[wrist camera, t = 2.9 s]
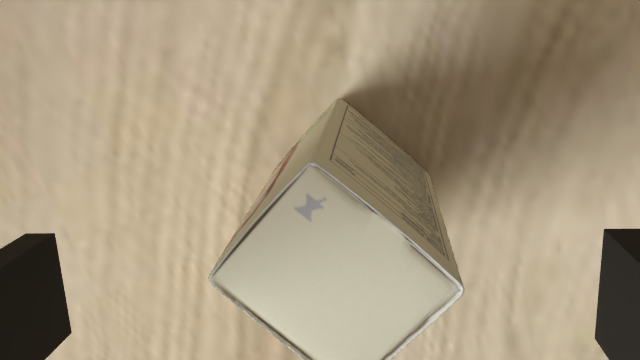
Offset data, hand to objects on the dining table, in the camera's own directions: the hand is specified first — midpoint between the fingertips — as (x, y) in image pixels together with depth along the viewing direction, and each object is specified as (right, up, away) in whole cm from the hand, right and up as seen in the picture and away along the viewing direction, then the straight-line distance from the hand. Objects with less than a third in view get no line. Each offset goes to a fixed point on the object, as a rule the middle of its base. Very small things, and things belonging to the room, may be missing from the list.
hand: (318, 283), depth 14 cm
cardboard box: (+1, +3, +10) cm, 11 cm away
